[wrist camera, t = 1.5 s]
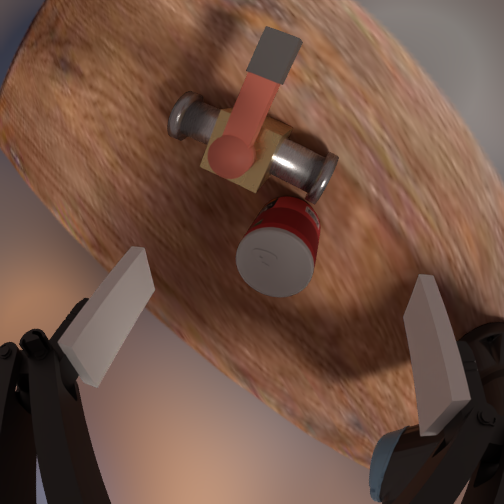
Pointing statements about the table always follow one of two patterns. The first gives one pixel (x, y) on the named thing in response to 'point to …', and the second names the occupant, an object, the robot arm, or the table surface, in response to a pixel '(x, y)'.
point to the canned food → (280, 248)
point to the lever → (253, 103)
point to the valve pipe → (267, 147)
